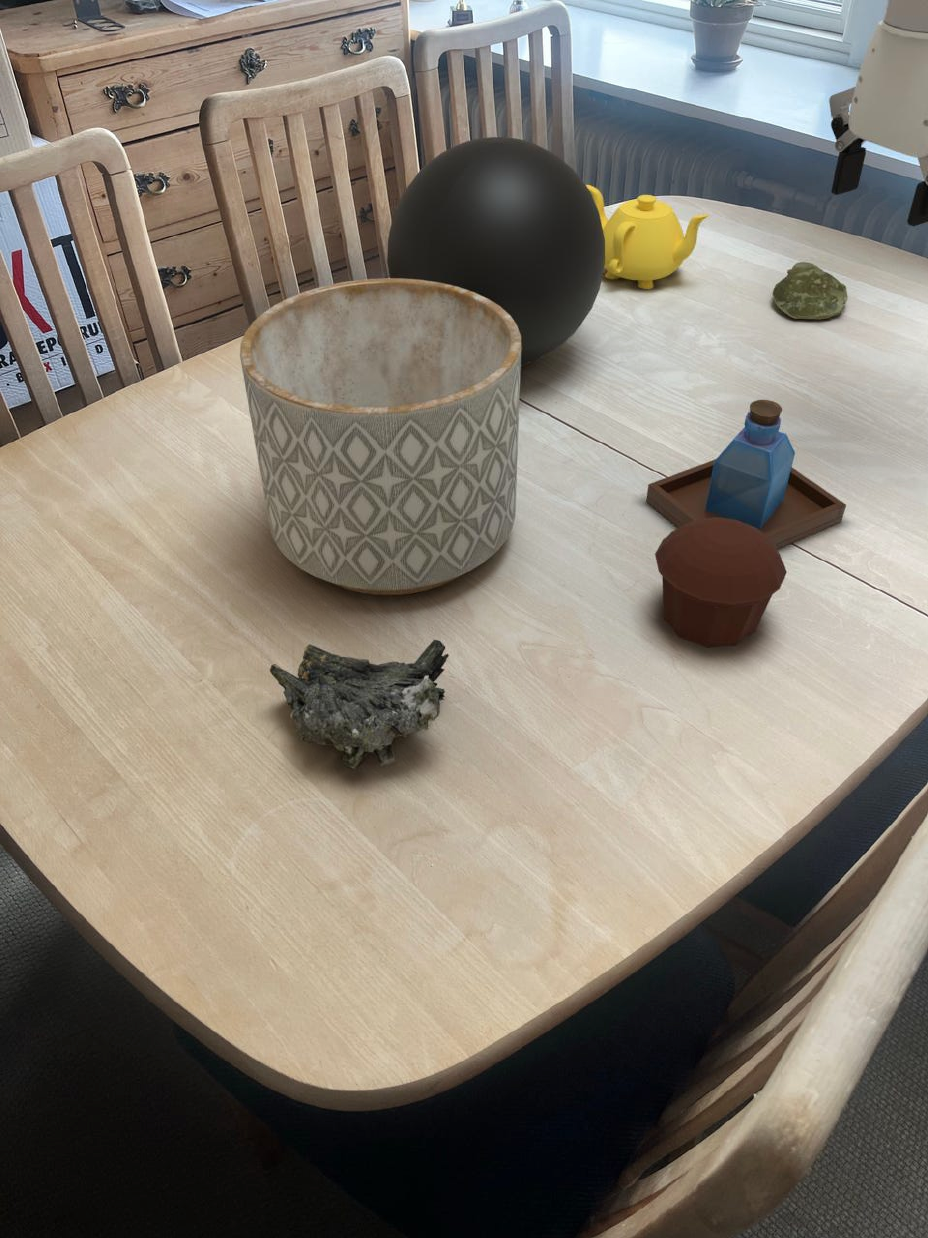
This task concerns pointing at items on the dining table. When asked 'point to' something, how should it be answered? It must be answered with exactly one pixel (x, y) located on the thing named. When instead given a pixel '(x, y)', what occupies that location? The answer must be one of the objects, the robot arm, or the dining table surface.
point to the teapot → (644, 239)
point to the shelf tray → (789, 523)
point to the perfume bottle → (752, 468)
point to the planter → (386, 430)
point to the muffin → (717, 579)
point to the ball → (505, 235)
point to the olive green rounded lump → (810, 293)
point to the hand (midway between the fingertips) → (881, 206)
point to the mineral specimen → (362, 700)
